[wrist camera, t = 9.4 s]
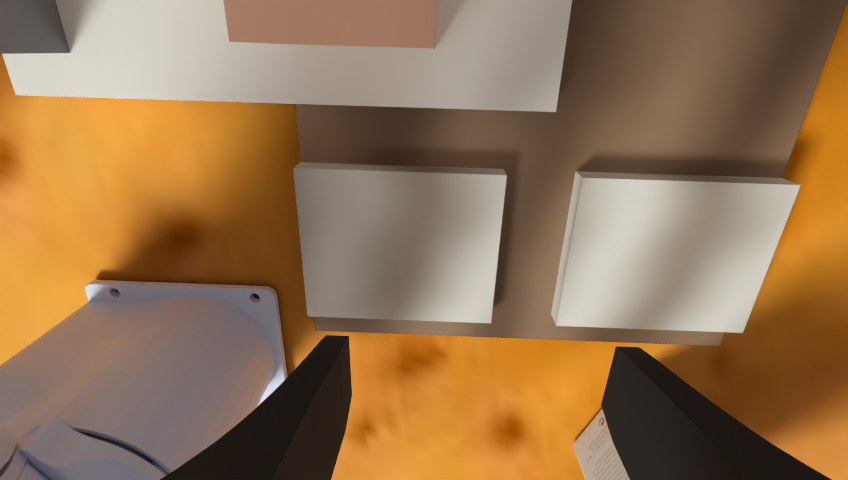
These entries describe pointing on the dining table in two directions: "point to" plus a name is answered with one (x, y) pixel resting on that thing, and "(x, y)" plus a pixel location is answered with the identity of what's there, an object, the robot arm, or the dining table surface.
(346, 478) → the dining table surface
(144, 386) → the robot arm
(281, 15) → the block
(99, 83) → the white tray
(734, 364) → the dining table surface
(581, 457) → the small box
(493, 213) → the board
